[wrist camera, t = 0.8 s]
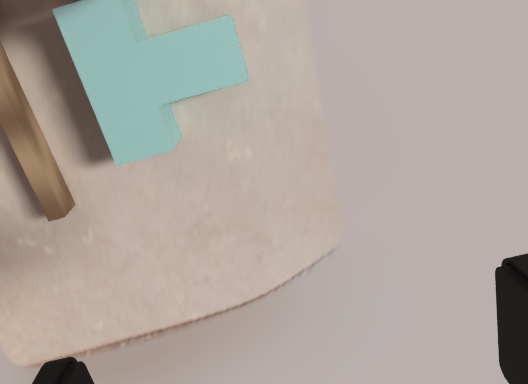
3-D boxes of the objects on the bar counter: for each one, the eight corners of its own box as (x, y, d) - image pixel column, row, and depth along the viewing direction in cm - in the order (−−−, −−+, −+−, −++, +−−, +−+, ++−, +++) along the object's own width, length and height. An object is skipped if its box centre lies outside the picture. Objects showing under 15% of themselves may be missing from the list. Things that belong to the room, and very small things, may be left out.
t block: (75, 10, 30) (51, 9, 26) (218, -33, 30) (215, -40, 26) (130, 149, 34) (116, 165, 30) (258, 113, 33) (260, 125, 29)
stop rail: (-43, -9, 29) (-66, -11, 27) (-26, -14, 29) (-48, -17, 27) (60, 208, 35) (48, 221, 33) (75, 204, 35) (64, 217, 33)
